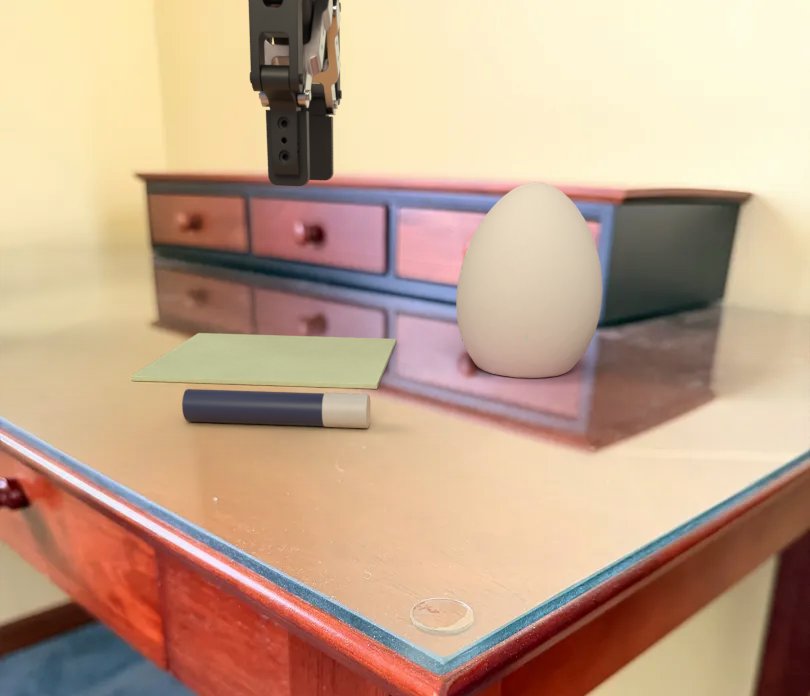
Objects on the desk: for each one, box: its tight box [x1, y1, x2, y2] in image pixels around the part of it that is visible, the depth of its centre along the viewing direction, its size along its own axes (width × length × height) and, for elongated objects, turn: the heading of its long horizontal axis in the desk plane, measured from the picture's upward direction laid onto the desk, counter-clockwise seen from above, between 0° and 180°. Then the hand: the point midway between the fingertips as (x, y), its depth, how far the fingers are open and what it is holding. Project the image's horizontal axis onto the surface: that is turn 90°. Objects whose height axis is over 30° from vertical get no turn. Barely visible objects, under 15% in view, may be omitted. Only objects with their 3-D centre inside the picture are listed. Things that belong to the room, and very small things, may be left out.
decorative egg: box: [455, 182, 603, 379], centre depth 69 cm, size 12×12×15 cm
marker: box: [181, 388, 371, 429], centre depth 56 cm, size 12×2×2 cm
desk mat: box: [130, 332, 397, 390], centre depth 74 cm, size 20×18×1 cm
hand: (303, 182), depth 49 cm, fingers open, 8 cm apart
